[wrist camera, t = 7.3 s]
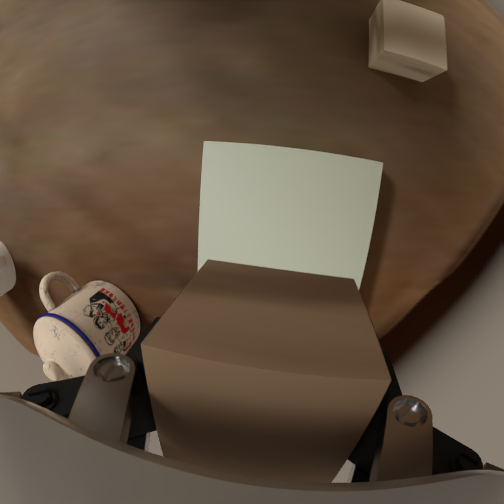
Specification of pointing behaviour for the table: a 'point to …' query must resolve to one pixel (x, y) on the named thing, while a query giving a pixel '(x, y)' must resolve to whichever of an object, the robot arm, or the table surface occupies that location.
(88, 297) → the teacup with lid
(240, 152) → the base board
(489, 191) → the table surface
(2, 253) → the mug
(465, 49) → the table surface
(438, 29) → the ash block
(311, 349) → the walnut block
